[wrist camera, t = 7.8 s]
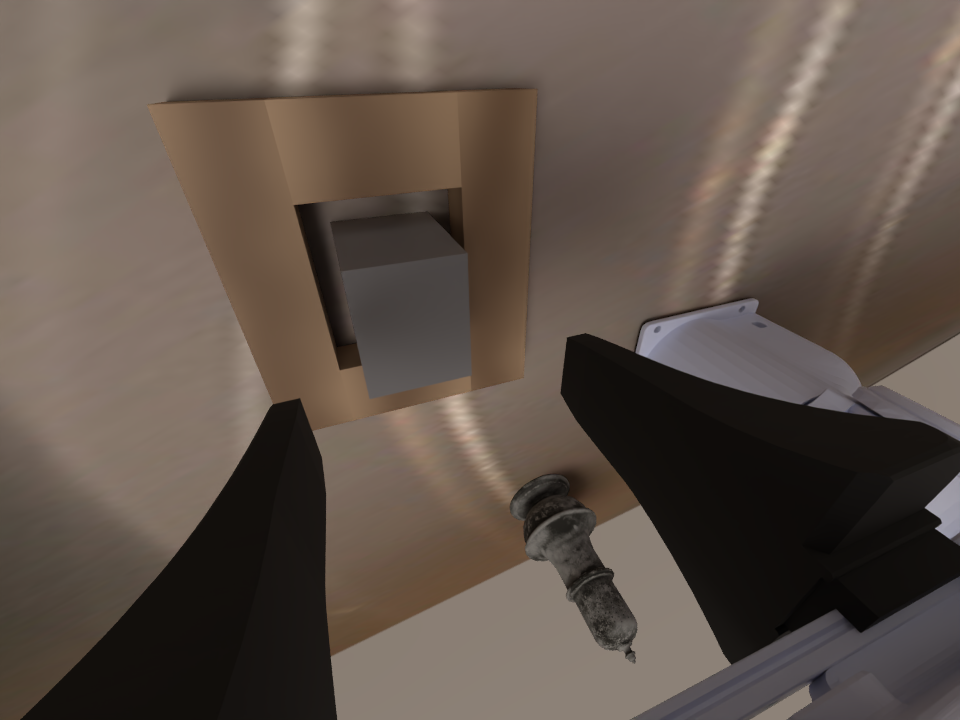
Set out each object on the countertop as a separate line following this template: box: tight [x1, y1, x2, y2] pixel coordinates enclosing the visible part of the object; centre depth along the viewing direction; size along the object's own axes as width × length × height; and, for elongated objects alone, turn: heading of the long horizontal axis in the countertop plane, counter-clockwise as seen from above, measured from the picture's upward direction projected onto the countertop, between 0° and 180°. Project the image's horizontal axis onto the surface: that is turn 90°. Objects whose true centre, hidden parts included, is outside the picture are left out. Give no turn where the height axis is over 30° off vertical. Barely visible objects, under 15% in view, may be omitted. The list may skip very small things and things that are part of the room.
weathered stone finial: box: [510, 474, 637, 663], centre depth 28 cm, size 6×6×12 cm
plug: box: [330, 211, 472, 399], centre depth 16 cm, size 4×5×6 cm
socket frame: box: [147, 88, 537, 431], centre depth 17 cm, size 12×13×2 cm
